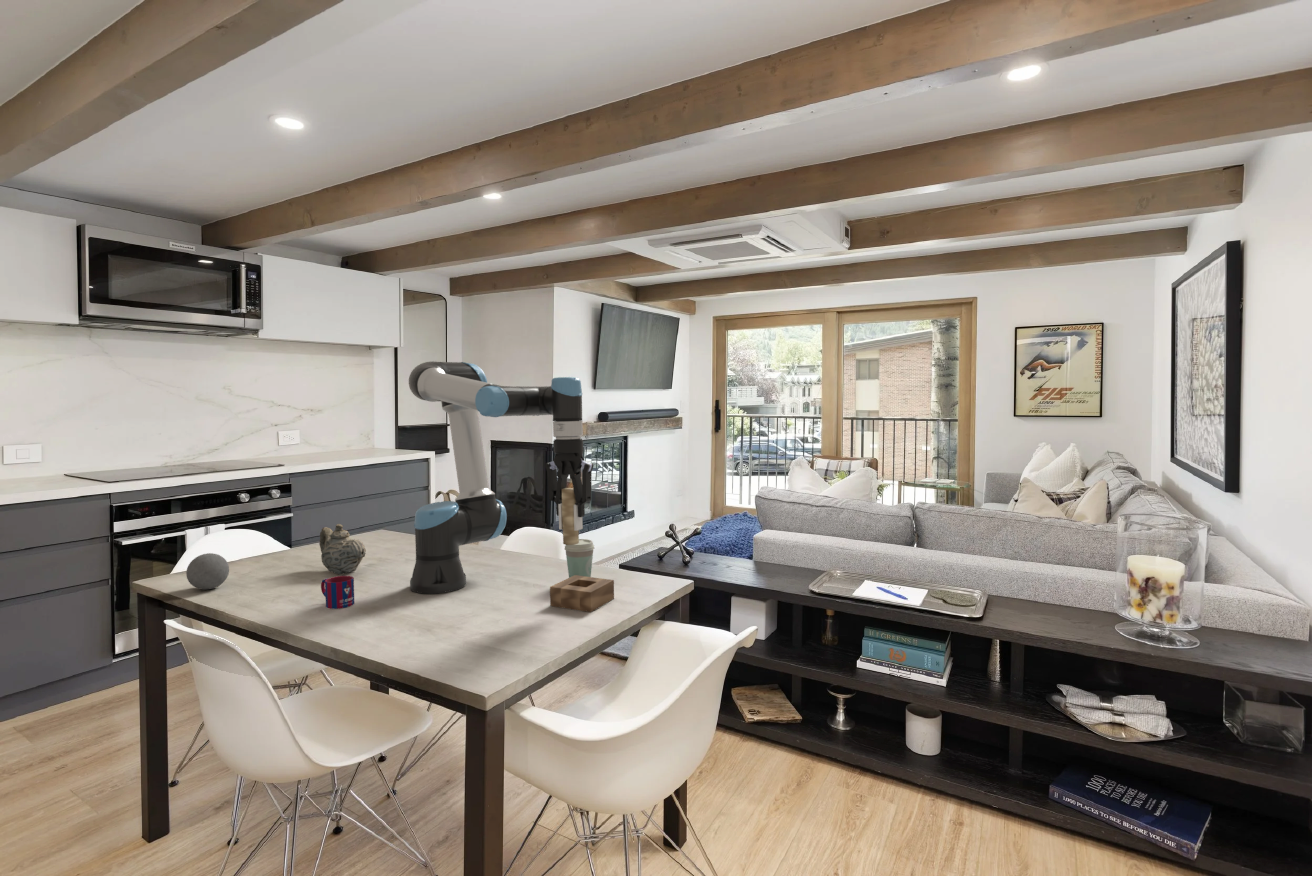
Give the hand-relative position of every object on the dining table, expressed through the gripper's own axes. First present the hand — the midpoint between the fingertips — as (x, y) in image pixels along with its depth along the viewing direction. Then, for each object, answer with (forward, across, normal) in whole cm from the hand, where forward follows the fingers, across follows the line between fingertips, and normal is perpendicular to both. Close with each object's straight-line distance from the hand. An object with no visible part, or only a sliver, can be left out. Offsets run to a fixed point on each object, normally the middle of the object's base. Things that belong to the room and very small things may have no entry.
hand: (570, 528), depth 170 cm
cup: (+19, -56, -26) cm, 64 cm away
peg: (+4, 0, 0) cm, 4 cm away
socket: (+20, +2, +2) cm, 20 cm away
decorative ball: (+18, -100, -33) cm, 107 cm away
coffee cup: (+19, -9, +17) cm, 27 cm away
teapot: (+18, -82, -4) cm, 84 cm away
